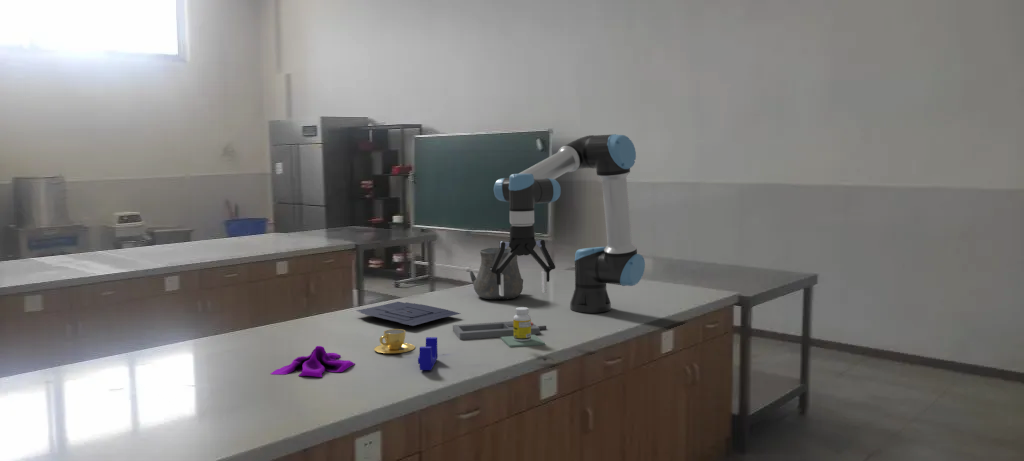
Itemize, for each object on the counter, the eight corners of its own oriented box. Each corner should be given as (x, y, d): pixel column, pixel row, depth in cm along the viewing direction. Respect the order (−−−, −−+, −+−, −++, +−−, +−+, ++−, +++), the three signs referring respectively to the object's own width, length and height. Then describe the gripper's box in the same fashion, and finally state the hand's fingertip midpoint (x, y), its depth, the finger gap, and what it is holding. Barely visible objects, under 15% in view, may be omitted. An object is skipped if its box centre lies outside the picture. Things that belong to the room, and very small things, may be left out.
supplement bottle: (512, 337, 230) (512, 306, 229) (530, 337, 231) (530, 306, 230) (514, 342, 225) (514, 310, 224) (531, 341, 225) (531, 309, 224)
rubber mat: (534, 336, 234) (534, 334, 234) (544, 344, 224) (544, 342, 224) (500, 338, 232) (500, 336, 232) (509, 347, 221) (509, 345, 221)
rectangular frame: (540, 325, 250) (540, 317, 250) (551, 333, 239) (551, 325, 238) (452, 331, 242) (452, 323, 242) (459, 339, 231) (459, 331, 231)
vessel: (538, 299, 296) (538, 250, 294) (492, 306, 284) (491, 254, 282) (508, 292, 314) (508, 245, 312) (463, 297, 302) (462, 248, 300)
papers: (401, 307, 279) (401, 298, 278) (461, 321, 260) (461, 310, 260) (351, 319, 259) (351, 309, 259) (412, 334, 241) (412, 323, 241)
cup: (400, 342, 229) (400, 325, 228) (423, 349, 220) (422, 331, 219) (366, 349, 221) (366, 331, 220) (388, 357, 212) (387, 338, 211)
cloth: (330, 354, 216) (329, 333, 216) (368, 366, 204) (367, 344, 203) (259, 370, 200) (258, 348, 200) (295, 384, 188) (294, 360, 187)
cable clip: (421, 357, 210) (421, 337, 210) (437, 358, 210) (437, 337, 210) (414, 369, 199) (413, 347, 198) (431, 369, 198) (430, 348, 198)
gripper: (557, 221, 231) (557, 289, 233) (479, 225, 225) (480, 294, 227) (565, 224, 224) (565, 293, 226) (484, 227, 218) (485, 298, 220)
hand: (523, 293), depth 227 cm, fingers open, 13 cm apart
